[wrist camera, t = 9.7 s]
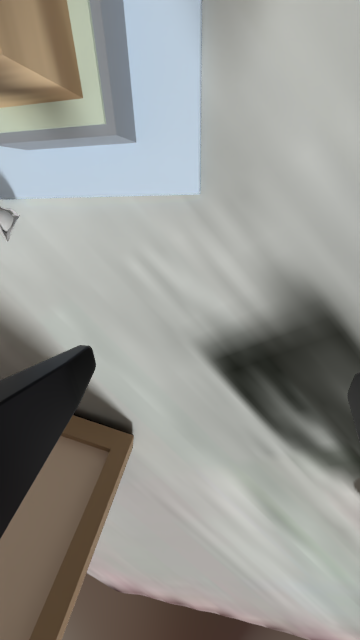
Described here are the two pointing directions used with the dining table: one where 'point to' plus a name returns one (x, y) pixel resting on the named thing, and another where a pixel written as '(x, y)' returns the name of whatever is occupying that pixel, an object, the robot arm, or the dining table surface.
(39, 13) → the oak cube
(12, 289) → the dining table surface
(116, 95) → the base block
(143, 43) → the board
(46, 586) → the photo frame
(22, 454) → the robot arm
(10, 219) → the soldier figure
